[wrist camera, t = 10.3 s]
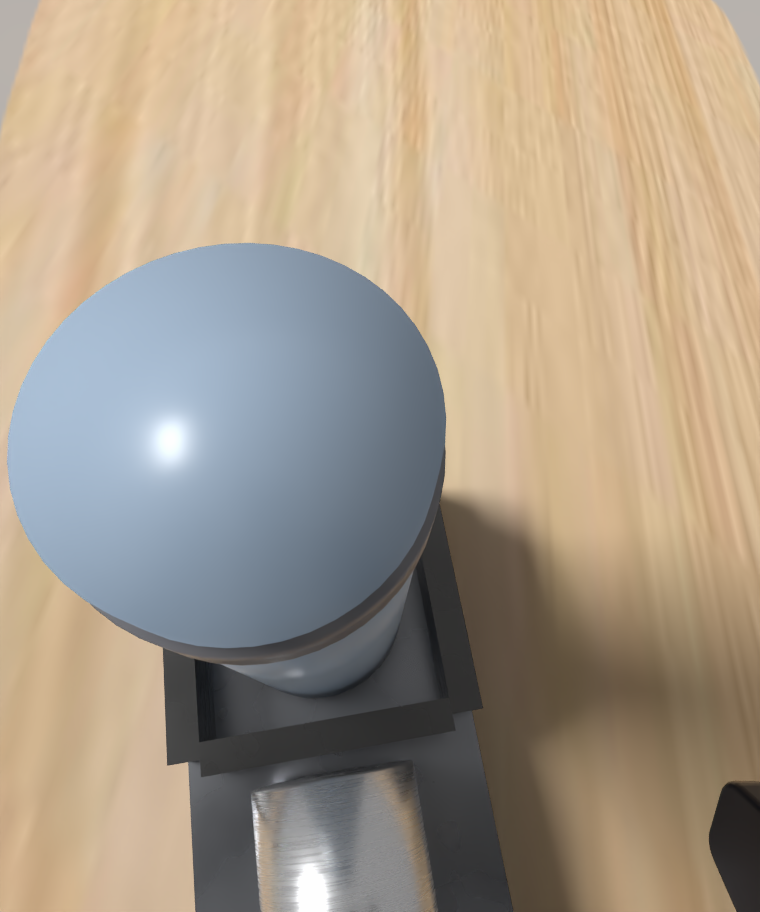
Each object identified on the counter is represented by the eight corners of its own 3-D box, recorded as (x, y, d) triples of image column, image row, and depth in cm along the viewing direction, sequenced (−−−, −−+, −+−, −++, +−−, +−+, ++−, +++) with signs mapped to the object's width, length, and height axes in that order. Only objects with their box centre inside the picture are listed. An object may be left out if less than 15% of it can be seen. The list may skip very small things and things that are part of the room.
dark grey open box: (521, 1002, 17) (590, 1130, 12) (223, 1067, 17) (151, 1234, 11) (417, 486, 23) (432, 410, 18) (191, 521, 23) (133, 454, 17)
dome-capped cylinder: (435, 643, 19) (544, 495, 7) (276, 737, 18) (90, 750, 6) (352, 498, 21) (325, 183, 9) (202, 576, 20) (-56, 339, 8)
